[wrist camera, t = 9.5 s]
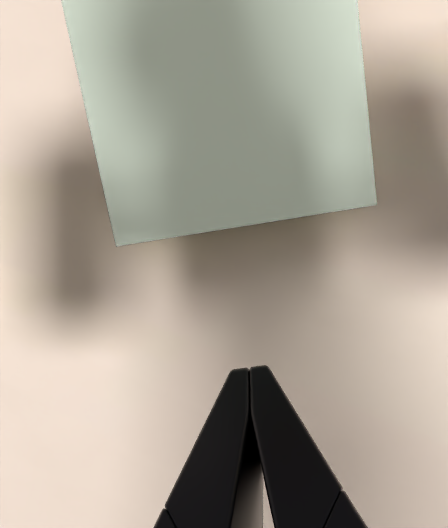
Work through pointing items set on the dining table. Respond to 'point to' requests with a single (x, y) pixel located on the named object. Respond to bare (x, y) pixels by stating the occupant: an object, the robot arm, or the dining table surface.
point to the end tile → (223, 111)
